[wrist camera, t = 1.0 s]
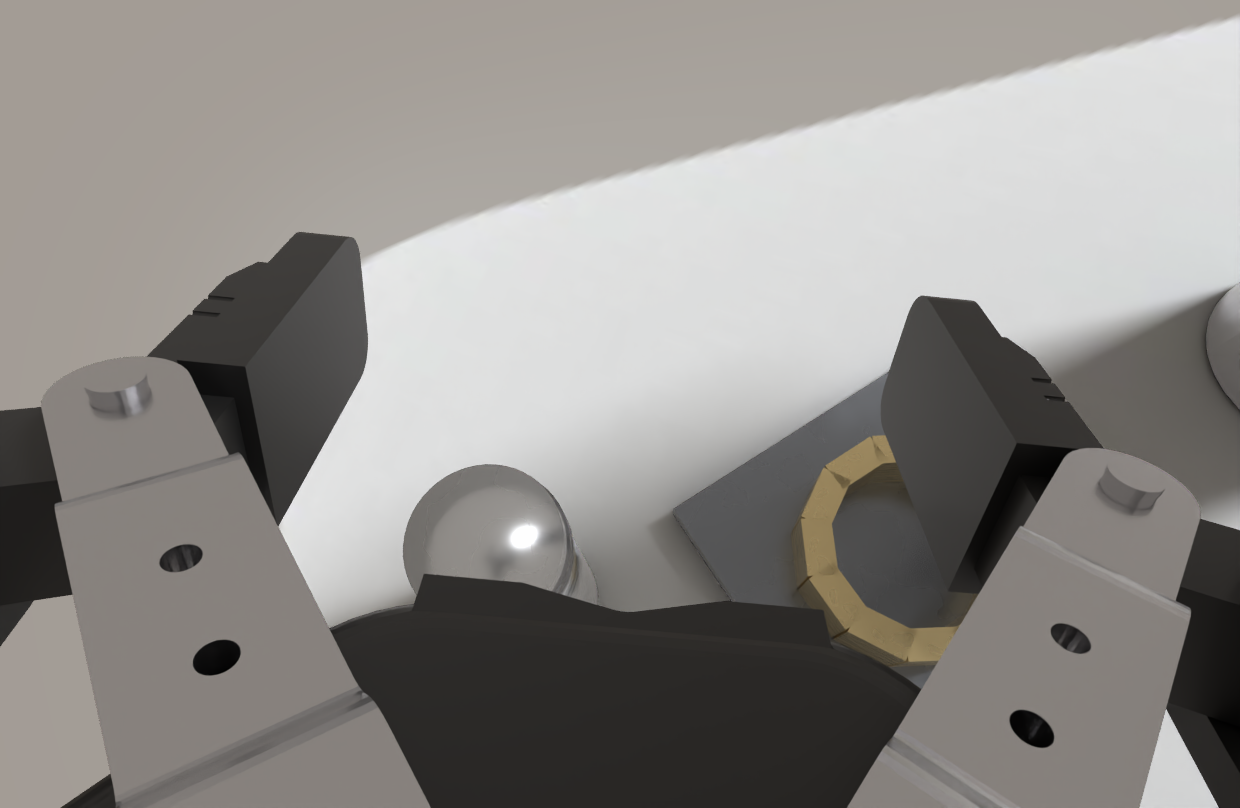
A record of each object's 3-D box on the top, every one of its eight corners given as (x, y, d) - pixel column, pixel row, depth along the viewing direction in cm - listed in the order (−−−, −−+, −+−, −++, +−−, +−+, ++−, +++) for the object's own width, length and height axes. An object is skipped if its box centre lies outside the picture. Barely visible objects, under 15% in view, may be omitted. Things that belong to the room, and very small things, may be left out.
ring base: (915, 360, 39) (940, 322, 35) (1131, 610, 34) (1186, 596, 31) (673, 514, 37) (673, 491, 33) (866, 802, 32) (892, 813, 28)
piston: (562, 518, 37) (515, 431, 26) (622, 616, 35) (598, 567, 24) (464, 580, 36) (372, 517, 25) (520, 683, 35) (447, 663, 24)
